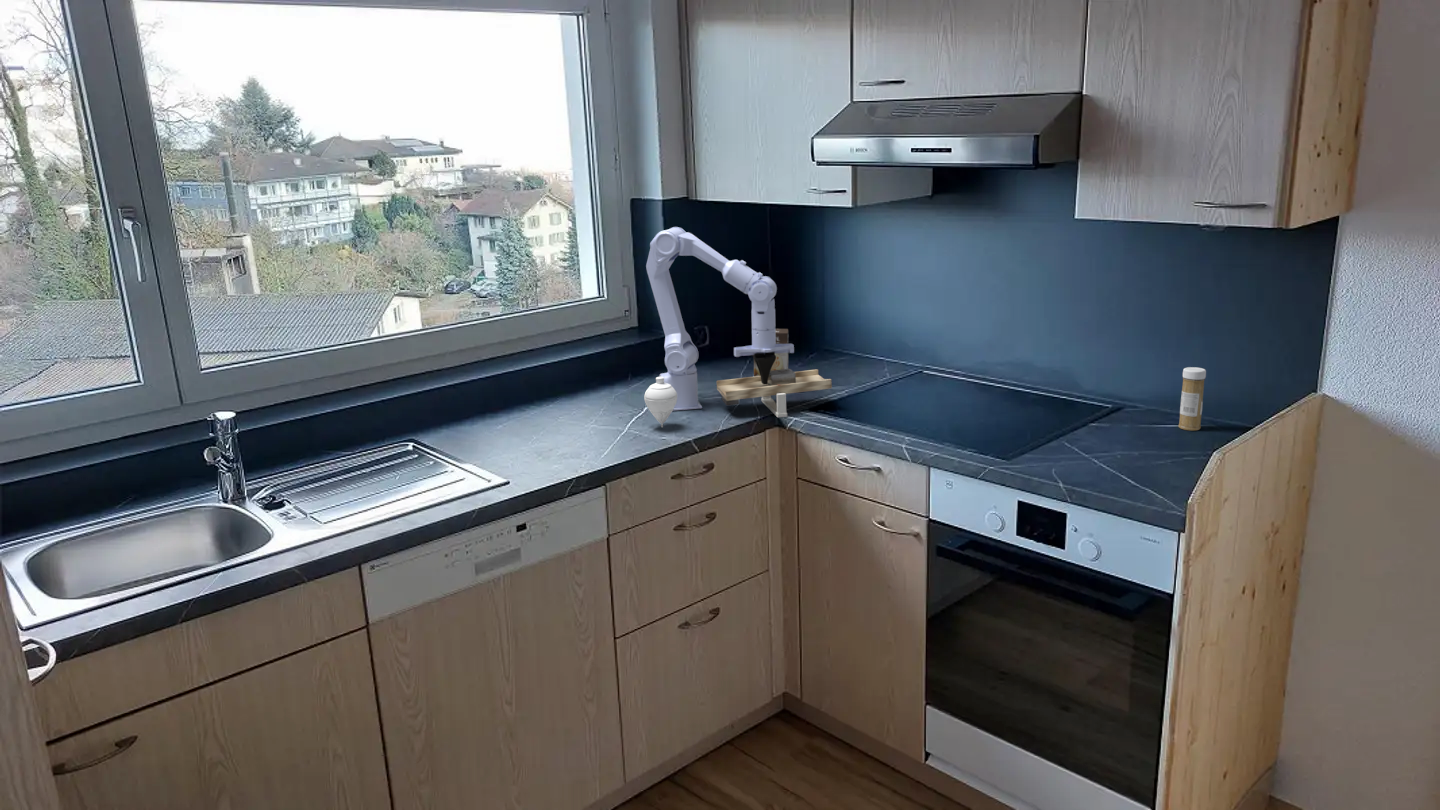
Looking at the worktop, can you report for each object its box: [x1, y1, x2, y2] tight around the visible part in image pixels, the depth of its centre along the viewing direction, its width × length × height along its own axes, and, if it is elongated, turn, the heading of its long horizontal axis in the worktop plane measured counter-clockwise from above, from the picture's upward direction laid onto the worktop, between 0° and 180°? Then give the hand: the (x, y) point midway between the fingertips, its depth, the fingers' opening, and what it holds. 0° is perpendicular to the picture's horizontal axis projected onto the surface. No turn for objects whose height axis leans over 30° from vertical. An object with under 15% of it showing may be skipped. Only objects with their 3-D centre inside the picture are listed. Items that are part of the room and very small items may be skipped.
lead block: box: [767, 368, 796, 386], centre depth 247 cm, size 6×5×3 cm
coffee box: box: [753, 328, 789, 377], centre depth 265 cm, size 9×6×16 cm
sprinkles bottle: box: [1178, 366, 1207, 431], centre depth 221 cm, size 5×5×14 cm
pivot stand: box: [760, 393, 788, 418], centre depth 248 cm, size 2×16×6 cm, turn 12°
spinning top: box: [643, 376, 677, 428], centre depth 235 cm, size 8×8×12 cm
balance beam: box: [716, 369, 833, 406], centre depth 248 cm, size 26×13×4 cm, turn 102°
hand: (764, 383), depth 247 cm, fingers closed
